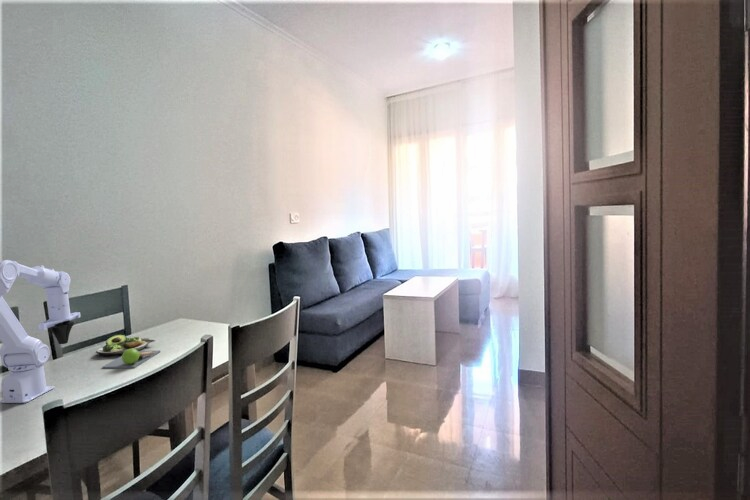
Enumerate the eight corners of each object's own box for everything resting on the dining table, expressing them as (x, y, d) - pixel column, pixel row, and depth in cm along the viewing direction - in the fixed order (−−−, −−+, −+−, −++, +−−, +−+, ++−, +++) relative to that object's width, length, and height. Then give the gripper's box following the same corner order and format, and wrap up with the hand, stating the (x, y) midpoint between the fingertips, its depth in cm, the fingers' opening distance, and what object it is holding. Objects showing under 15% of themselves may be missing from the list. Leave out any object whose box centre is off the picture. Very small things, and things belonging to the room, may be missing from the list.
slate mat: (134, 368, 132) (134, 366, 132) (102, 368, 133) (102, 366, 133) (160, 351, 147) (160, 350, 147) (131, 352, 148) (131, 350, 148)
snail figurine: (136, 348, 132) (154, 345, 144) (118, 350, 132) (137, 347, 144) (137, 363, 132) (154, 359, 143) (118, 366, 131) (137, 361, 143)
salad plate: (163, 338, 162) (162, 328, 161) (144, 352, 144) (143, 341, 144) (116, 343, 159) (115, 332, 159) (90, 358, 142) (88, 346, 141)
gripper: (50, 311, 121) (55, 351, 122) (86, 300, 135) (90, 336, 137) (30, 311, 121) (35, 351, 122) (68, 300, 135) (72, 336, 137)
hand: (63, 343), depth 130 cm, fingers closed
